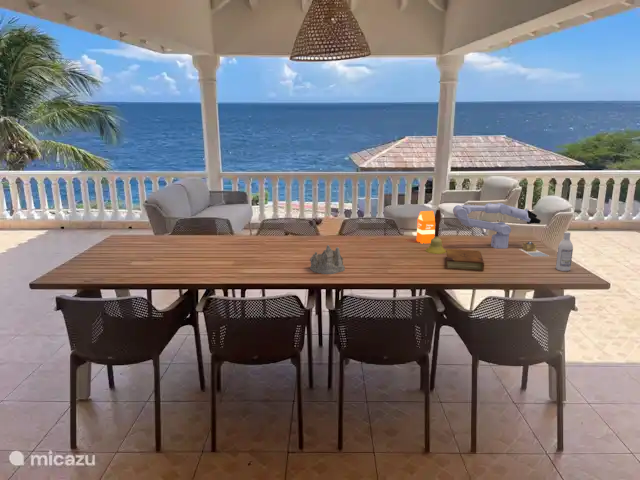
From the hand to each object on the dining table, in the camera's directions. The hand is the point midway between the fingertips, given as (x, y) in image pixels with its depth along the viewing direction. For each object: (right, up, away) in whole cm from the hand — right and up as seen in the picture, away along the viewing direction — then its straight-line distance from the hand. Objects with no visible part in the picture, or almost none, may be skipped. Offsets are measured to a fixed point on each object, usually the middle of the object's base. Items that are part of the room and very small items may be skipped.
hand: (538, 219), depth 301 cm
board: (-6, -21, -8) cm, 23 cm away
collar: (-7, -18, -3) cm, 20 cm away
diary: (-53, -26, -28) cm, 65 cm away
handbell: (-62, -19, -2) cm, 65 cm away
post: (-7, -19, -3) cm, 21 cm away
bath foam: (-3, -28, -37) cm, 47 cm away
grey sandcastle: (-127, -28, -38) cm, 135 cm away
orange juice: (-63, -14, +21) cm, 68 cm away
